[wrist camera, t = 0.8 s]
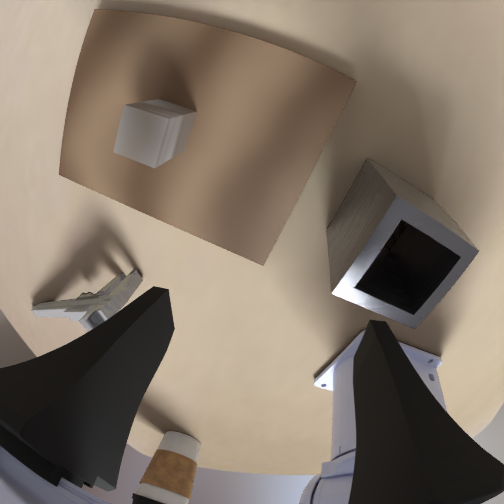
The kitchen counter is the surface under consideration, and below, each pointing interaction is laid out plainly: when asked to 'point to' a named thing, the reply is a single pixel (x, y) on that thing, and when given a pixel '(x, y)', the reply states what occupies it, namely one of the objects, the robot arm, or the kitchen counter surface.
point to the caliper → (93, 302)
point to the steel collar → (394, 248)
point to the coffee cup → (170, 471)
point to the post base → (198, 125)
